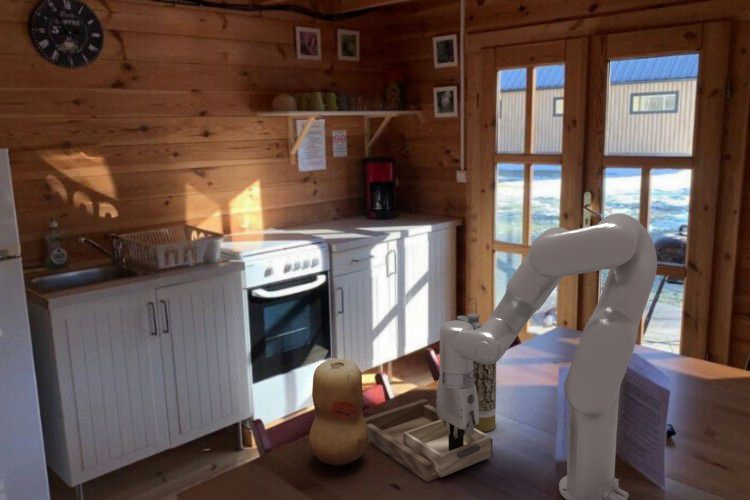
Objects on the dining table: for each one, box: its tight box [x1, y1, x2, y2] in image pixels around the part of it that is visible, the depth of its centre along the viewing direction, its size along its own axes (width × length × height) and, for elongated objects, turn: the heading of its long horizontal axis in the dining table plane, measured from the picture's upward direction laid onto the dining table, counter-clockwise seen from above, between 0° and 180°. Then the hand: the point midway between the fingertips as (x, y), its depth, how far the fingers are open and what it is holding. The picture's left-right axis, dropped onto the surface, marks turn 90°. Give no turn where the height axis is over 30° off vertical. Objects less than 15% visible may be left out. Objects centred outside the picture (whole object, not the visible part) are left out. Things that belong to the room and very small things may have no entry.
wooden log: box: [473, 361, 497, 433], centre depth 168 cm, size 7×7×25 cm
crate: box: [403, 420, 492, 478], centre depth 154 cm, size 15×15×5 cm
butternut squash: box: [308, 357, 370, 467], centre depth 153 cm, size 14×13×25 cm
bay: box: [364, 398, 494, 483], centre depth 161 cm, size 26×20×5 cm
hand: (456, 450), depth 152 cm, fingers closed
